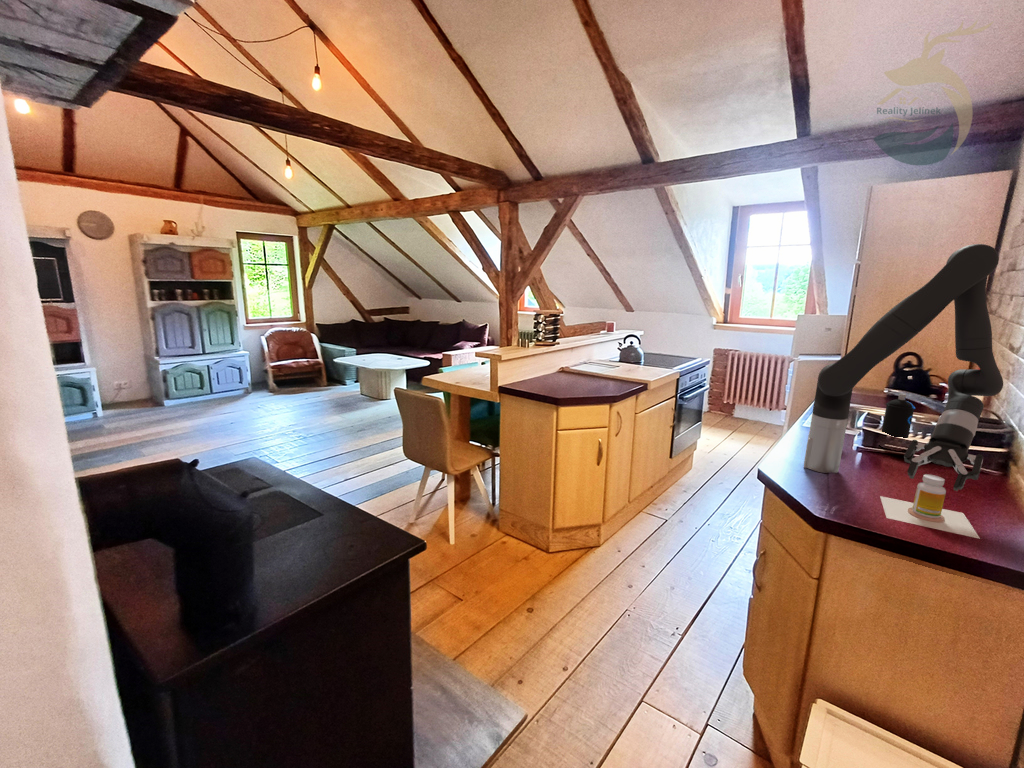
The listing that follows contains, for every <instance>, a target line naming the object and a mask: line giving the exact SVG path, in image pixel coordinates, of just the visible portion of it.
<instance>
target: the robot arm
mask: <svg viewBox="0 0 1024 768" xmlns="http://www.w3.org/2000/svg"><path fill="white" fill-rule="evenodd" d="M999 261H1000V256H999V253H998V251H997V250H996V249H995V247H994V246H991V245H988V244H984V243H983V244H982V243H973V244H968V245H965V246H963V247H961V248H958V249H957V250H955V251H954V252H953V253H952V254H951V255H950V256H949V257H948V259H947V261H946V264H945V265H944V266H943V267H942V268H941V269H940V270H939V271H938V272H937V273H936V274H935V275H934V276H933V277H932V278H931V279H930V280H929V281H928V282H927V283H926V284H924V285H923V286H921V287H920V288H919V289H917V290H915V291H914V292H913V293H911V294H909V295H908V296H906V297H905V298H904V299H902V300H901V301H900V302H898V303H896V305H894V306H893V307H892V308H891V309H890V310H888V311H887V312H886V313H885V314H884V315H882V316H881V317H880V318H879V320H877V321H876V322H875V323H874V324H873V325H872V326H871V327H870V328H869V329H868V330H867V332H866V333H865V334H864V335H863V336H862V337H861V338H860V340H859V341H858V342H857V344H856V345H855V346H854V347H853V348H851V350H849V352H848V353H846V354H845V355H844V356H842V357H841V358H840V359H838V360H837V361H836V362H835V363H833V362H832V363H830V364H827V365H825V366H824V367H822V369H820V372H819V373H818V376H817V382H816V388H815V389H816V390H815V394H814V395H815V396H814V401H813V408H812V412H811V418H810V419H811V420H810V426H809V431H808V432H809V433H808V437H807V442H806V448H805V455H804V461H803V468H805V469H810V470H811V471H814V472H819V473H823V474H824V473H825V474H829V473H831V474H837V473H839V471H840V470H839V469H840V465H841V458H842V454H843V449H844V448H843V447H844V443H845V442H844V441H845V436H846V431H847V425H848V421H849V415H850V410H851V409H850V408H851V400H852V395H853V388H854V387H856V385H857V384H858V383H859V382H860V381H861V380H862V379H864V377H866V375H867V374H868V373H869V372H870V371H871V370H872V369H873V368H875V367H876V366H877V365H878V364H881V362H883V361H884V360H885V359H887V358H889V356H891V355H893V354H894V353H895V352H897V351H898V350H899V349H901V348H902V347H903V346H905V345H906V344H907V343H909V342H910V341H911V340H913V338H915V337H916V336H917V335H918V334H919V333H920V332H921V331H922V330H924V329H925V328H926V327H927V326H928V325H930V323H932V322H933V321H934V320H935V318H936V317H938V316H939V315H940V314H941V313H942V312H943V311H945V309H946V308H947V307H948V306H949V305H950V304H951V303H952V302H953V303H954V343H955V345H954V346H955V358H956V359H957V360H958V361H959V360H960V361H963V362H970V363H973V364H975V365H977V367H978V368H979V369H976V368H975V369H972V368H971V369H965V368H964V369H961V368H960V369H957V370H954V371H953V372H952V373H950V374H949V376H948V378H947V388H948V391H947V392H948V394H947V402H946V404H945V407H944V409H943V411H942V413H941V415H940V416H939V418H938V420H937V422H936V425H935V427H934V428H933V431H932V433H931V435H930V438H929V440H928V442H927V443H922V442H918V440H917V439H912V440H911V442H910V444H909V445H908V447H907V448H906V449H907V450H906V451H905V452H904V455H903V458H904V459H903V460H904V463H907V464H909V466H908V469H907V476H908V477H909V479H912V480H914V478H915V476H916V473H917V471H918V469H919V467H920V466H922V465H927V464H929V463H931V462H932V463H933V464H935V465H942V466H944V467H949V468H950V467H953V469H954V471H955V472H956V473H957V476H956V479H955V482H954V485H953V491H956V492H958V491H959V490H962V489H964V486H965V483H966V481H967V480H970V479H972V480H973V481H978V480H979V477H980V473H981V470H982V466H983V461H984V455H983V454H981V453H980V454H979V453H978V454H976V455H974V454H970V453H968V452H969V449H970V446H971V444H972V441H973V439H974V437H975V436H976V432H977V429H978V424H979V421H980V418H981V416H982V412H983V411H984V402H983V400H981V399H980V398H978V397H993V396H996V395H998V394H1000V392H1001V391H1002V390H1003V388H1004V379H1003V375H1002V374H1001V372H1000V370H999V367H998V364H997V362H996V359H995V356H994V352H993V333H992V332H993V330H992V325H991V323H992V322H991V318H990V314H989V310H988V305H987V304H988V303H987V284H988V277H989V276H990V275H991V274H992V273H993V272H994V271H996V269H997V267H998V264H999ZM921 450H924V452H922V453H920V454H919V455H917V456H915V457H914V455H915V454H916V452H919V451H921ZM968 460H969V461H970V464H971V465H973V466H972V470H971V471H968V470H967V469H966V467H965V466H964V464H963V462H966V461H968Z"/></svg>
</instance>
